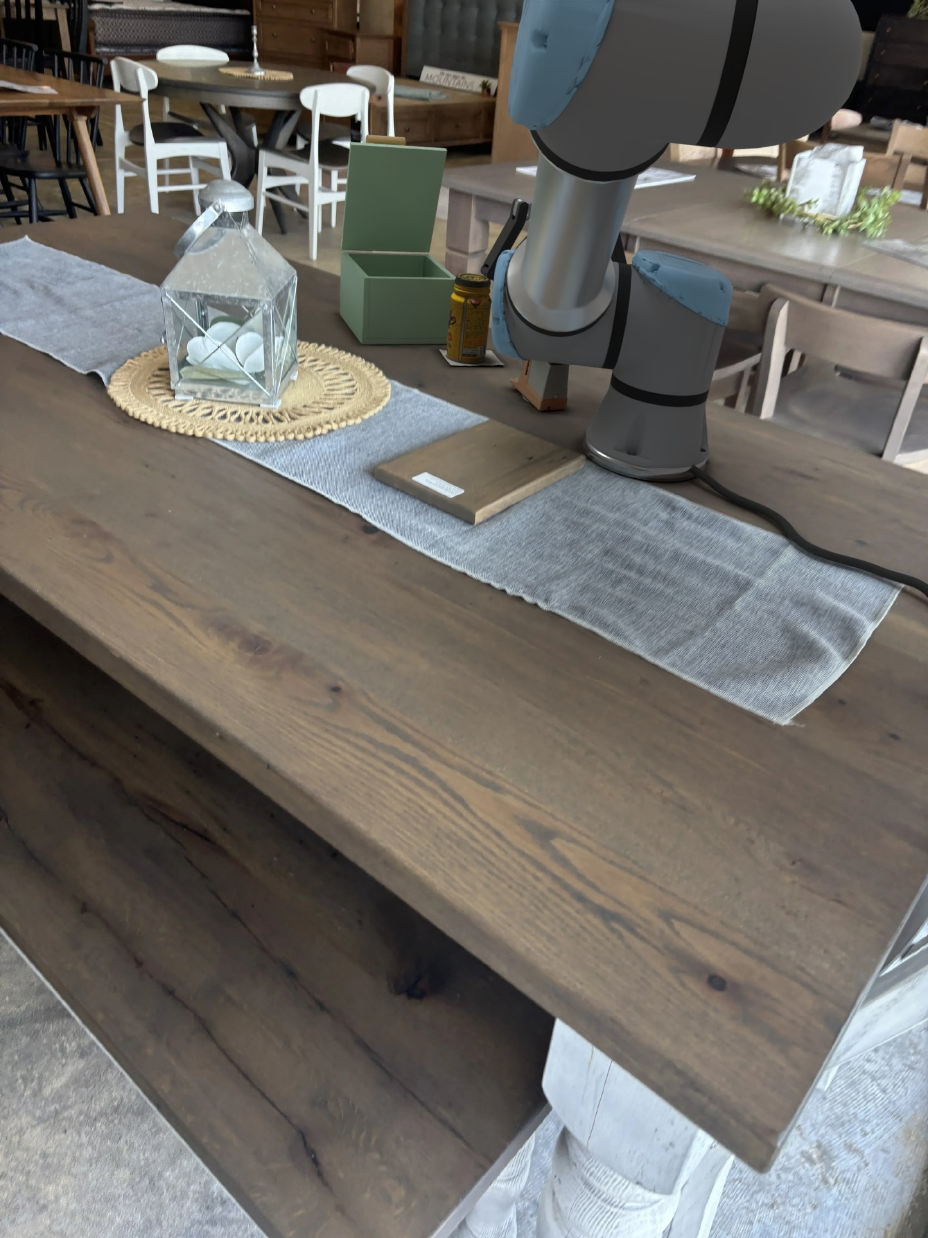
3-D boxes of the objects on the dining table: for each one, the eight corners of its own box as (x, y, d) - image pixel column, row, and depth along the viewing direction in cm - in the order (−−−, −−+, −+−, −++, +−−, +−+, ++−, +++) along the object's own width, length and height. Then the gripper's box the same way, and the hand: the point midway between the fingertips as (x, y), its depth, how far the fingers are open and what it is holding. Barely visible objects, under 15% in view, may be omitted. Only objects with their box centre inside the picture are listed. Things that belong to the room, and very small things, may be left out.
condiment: (438, 350, 140) (445, 269, 134) (490, 351, 142) (499, 271, 136) (450, 366, 134) (457, 283, 128) (504, 366, 137) (514, 284, 130)
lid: (447, 150, 137) (432, 123, 142) (351, 144, 133) (339, 116, 138) (429, 252, 150) (416, 224, 155) (341, 250, 145) (330, 221, 150)
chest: (453, 343, 144) (458, 279, 138) (361, 344, 139) (364, 277, 134) (424, 314, 156) (428, 254, 150) (339, 314, 151) (340, 251, 146)
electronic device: (535, 385, 131) (542, 333, 127) (568, 410, 124) (577, 356, 120) (507, 387, 129) (514, 334, 125) (539, 413, 122) (547, 358, 118)
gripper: (648, 159, 117) (617, 324, 129) (466, 147, 109) (451, 325, 121) (678, 169, 111) (642, 342, 123) (488, 158, 103) (469, 343, 115)
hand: (547, 334), depth 122 cm, fingers open, 13 cm apart
